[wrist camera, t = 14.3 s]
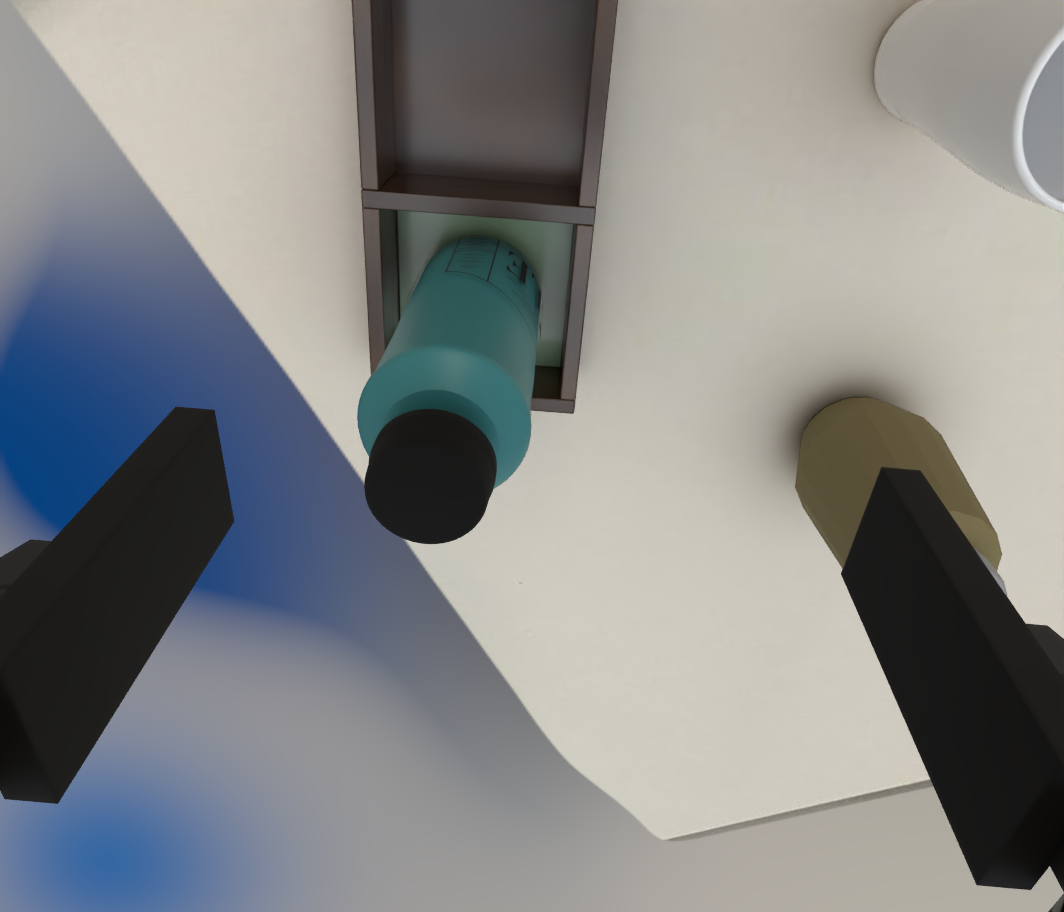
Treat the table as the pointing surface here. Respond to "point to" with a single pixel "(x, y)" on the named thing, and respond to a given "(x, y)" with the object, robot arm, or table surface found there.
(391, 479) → the beverage bottle
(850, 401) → the squeeze bottle
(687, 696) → the table surface
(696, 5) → the table surface
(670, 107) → the table surface
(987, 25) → the drinking glass
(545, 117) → the divided box
